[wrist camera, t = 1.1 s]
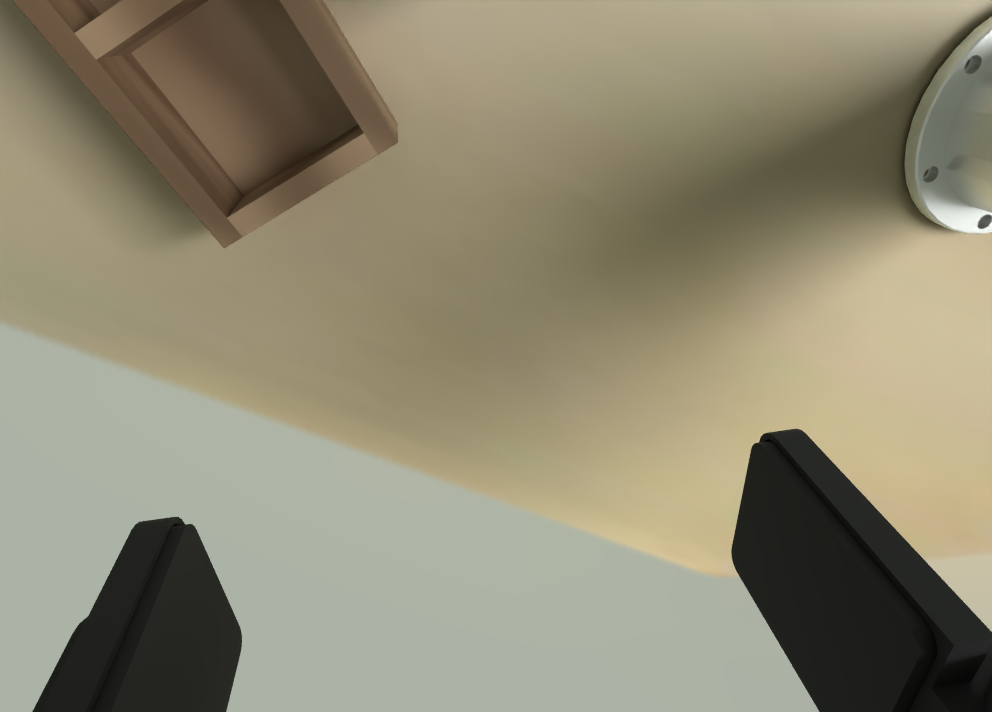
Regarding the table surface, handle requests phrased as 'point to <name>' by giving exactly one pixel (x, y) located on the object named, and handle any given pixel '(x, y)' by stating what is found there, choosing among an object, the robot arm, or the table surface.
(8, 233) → the table surface
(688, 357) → the table surface
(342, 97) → the rack
